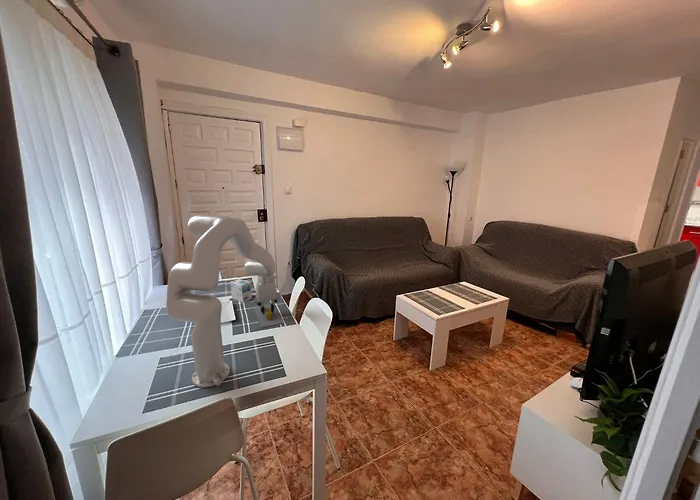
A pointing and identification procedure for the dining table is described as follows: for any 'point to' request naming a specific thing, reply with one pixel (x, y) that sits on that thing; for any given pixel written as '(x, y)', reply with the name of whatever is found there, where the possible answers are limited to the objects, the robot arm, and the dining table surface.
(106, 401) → the dining table surface
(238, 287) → the light bulb box
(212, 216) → the robot arm
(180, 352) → the dining table surface
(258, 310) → the placemat
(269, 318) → the medication box
